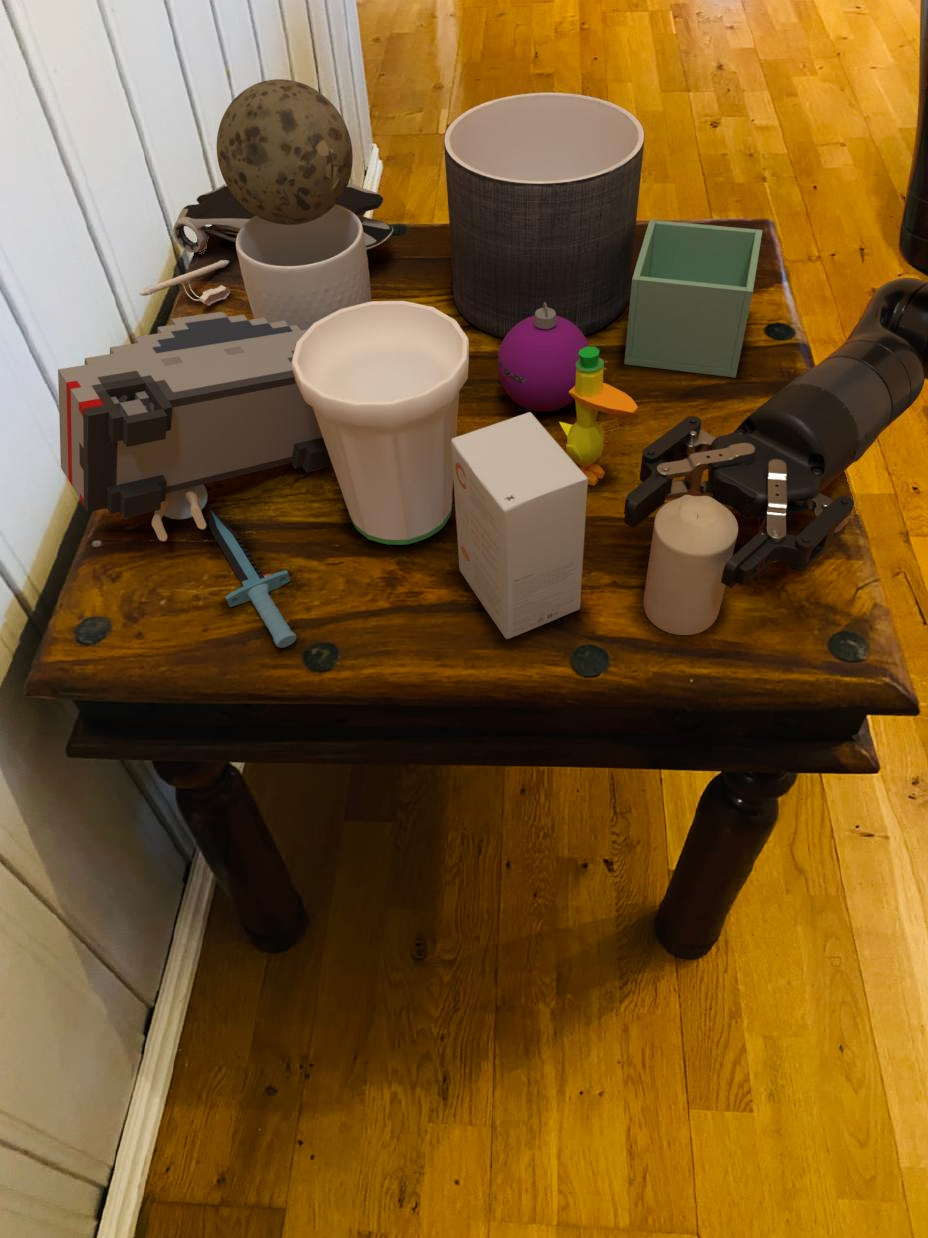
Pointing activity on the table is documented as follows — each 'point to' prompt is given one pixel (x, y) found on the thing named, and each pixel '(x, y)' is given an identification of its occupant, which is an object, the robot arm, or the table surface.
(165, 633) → the table surface
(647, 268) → the waste bin
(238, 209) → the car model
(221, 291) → the picture light
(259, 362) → the toy car
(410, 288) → the table surface
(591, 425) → the toy figure
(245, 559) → the knife
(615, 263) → the planter
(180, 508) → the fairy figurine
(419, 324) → the cup
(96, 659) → the table surface
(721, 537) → the candle
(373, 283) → the table surface
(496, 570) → the small box
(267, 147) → the decorative egg
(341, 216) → the mug
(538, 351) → the christmas ornament
